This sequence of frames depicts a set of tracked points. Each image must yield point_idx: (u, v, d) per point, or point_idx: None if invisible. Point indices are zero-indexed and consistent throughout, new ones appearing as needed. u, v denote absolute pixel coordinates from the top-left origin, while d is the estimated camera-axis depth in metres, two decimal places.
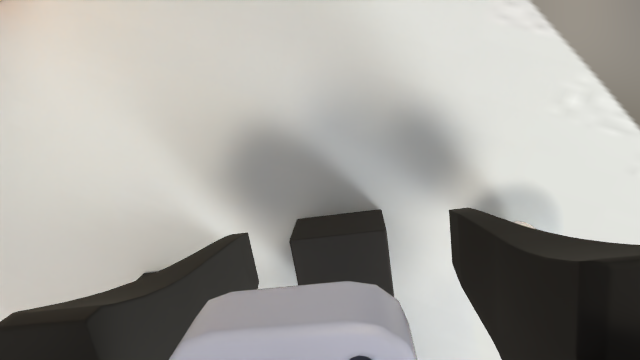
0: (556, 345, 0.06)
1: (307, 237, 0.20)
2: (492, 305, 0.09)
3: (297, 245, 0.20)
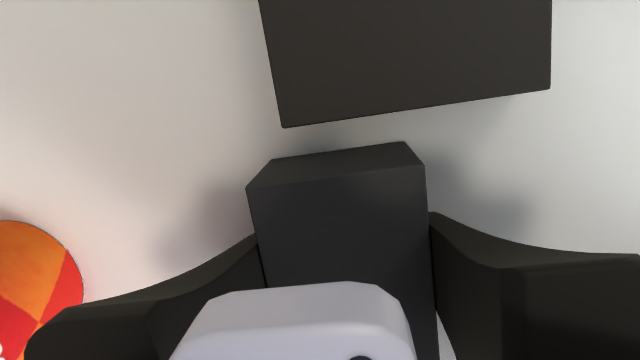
0: (489, 349, 0.06)
1: None
2: (448, 309, 0.09)
3: None
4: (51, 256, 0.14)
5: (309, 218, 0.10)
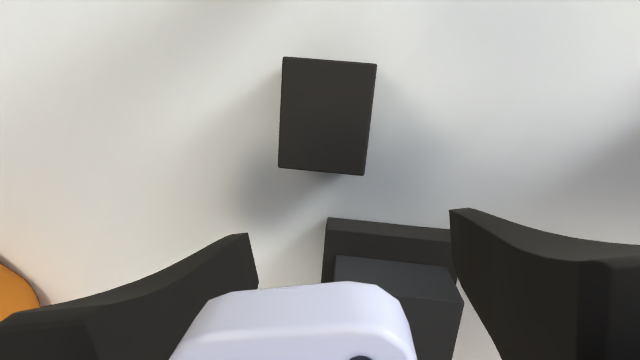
0: (556, 345, 0.06)
1: None
2: (491, 305, 0.09)
3: (284, 160, 0.18)
4: None
5: None
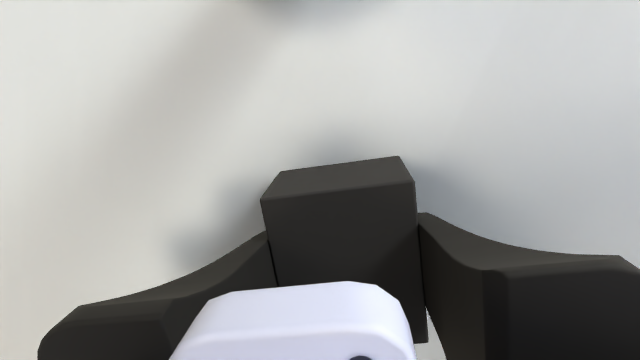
0: (474, 351, 0.06)
1: None
2: (439, 310, 0.09)
3: None
4: None
5: None
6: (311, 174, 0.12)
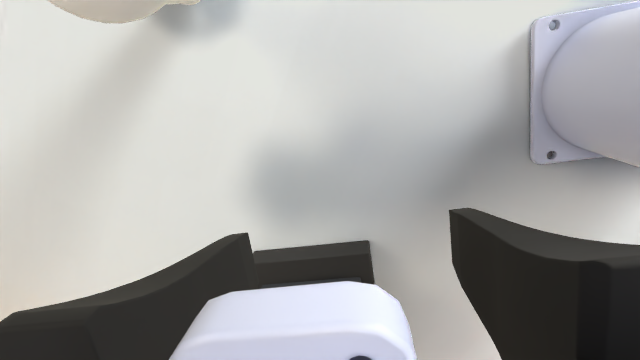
0: (556, 345, 0.06)
1: None
2: (491, 305, 0.09)
3: None
4: None
5: None
6: None
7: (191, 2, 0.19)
